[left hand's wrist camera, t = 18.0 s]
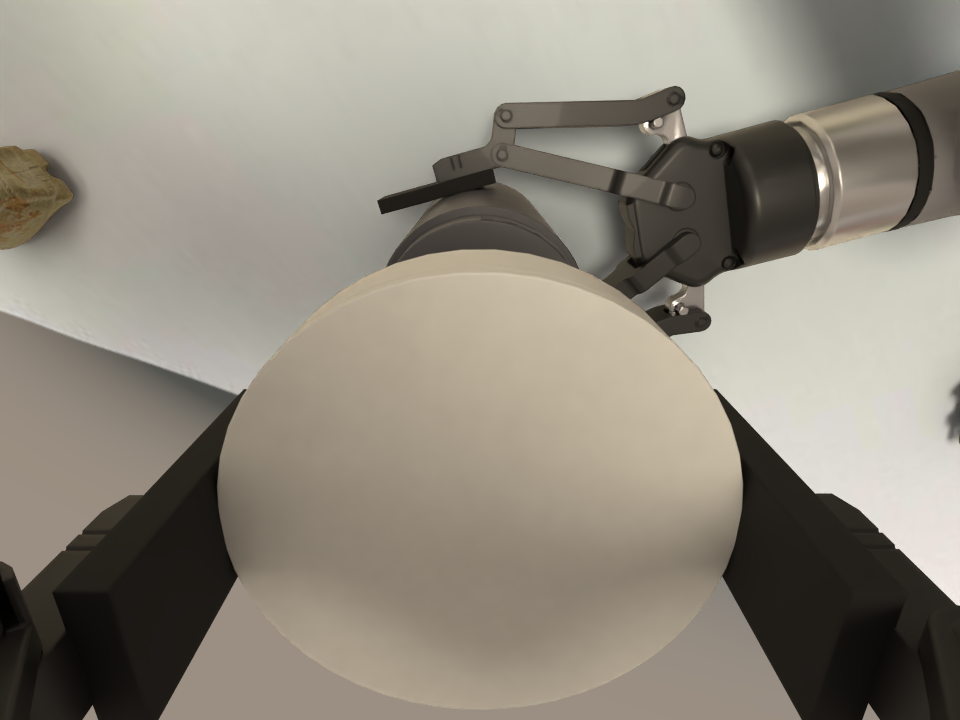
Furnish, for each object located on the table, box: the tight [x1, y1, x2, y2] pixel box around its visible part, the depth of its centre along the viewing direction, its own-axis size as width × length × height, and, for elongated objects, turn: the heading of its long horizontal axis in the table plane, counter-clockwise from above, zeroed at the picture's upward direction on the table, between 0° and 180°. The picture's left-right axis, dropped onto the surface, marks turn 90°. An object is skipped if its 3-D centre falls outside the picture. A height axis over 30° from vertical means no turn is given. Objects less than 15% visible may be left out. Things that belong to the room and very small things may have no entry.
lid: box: [217, 250, 743, 710], centre depth 12 cm, size 10×10×2 cm
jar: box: [387, 183, 579, 269], centre depth 31 cm, size 9×9×17 cm
